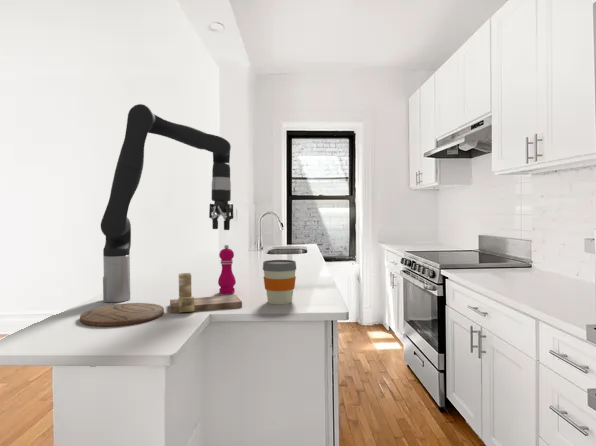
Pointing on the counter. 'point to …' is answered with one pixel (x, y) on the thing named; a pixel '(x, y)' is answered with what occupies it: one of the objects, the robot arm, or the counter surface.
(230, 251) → the pepper mill
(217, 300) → the walnut board
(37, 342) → the counter surface
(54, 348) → the counter surface
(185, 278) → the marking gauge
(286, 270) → the reusable coffee cup
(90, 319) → the trivet
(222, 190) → the robot arm
